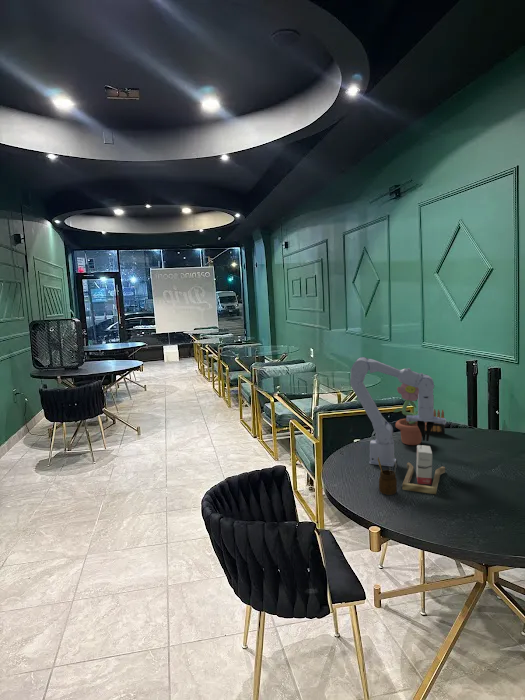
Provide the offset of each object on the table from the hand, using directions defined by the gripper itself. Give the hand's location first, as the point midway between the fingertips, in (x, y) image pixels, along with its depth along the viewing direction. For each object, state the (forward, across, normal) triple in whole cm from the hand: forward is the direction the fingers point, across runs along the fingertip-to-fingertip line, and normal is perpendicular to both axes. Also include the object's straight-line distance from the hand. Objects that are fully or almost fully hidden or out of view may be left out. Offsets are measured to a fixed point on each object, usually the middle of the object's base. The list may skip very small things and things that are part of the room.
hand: (425, 440), depth 178 cm
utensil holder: (+11, +9, +29) cm, 32 cm away
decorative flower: (+11, +10, -26) cm, 30 cm away
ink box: (+11, -1, +14) cm, 18 cm away
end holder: (+10, -1, +15) cm, 18 cm away
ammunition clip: (+11, +2, -44) cm, 45 cm away
